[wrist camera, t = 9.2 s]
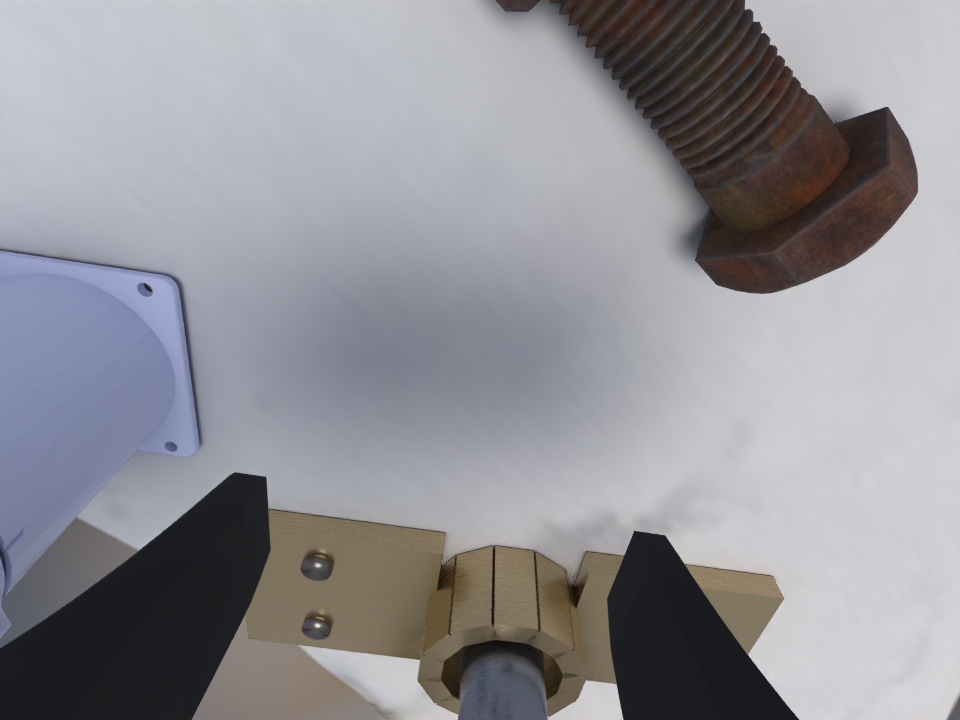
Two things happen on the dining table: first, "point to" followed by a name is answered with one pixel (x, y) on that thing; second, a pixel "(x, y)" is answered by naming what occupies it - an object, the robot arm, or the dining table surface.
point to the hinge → (459, 602)
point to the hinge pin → (502, 682)
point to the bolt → (751, 139)
